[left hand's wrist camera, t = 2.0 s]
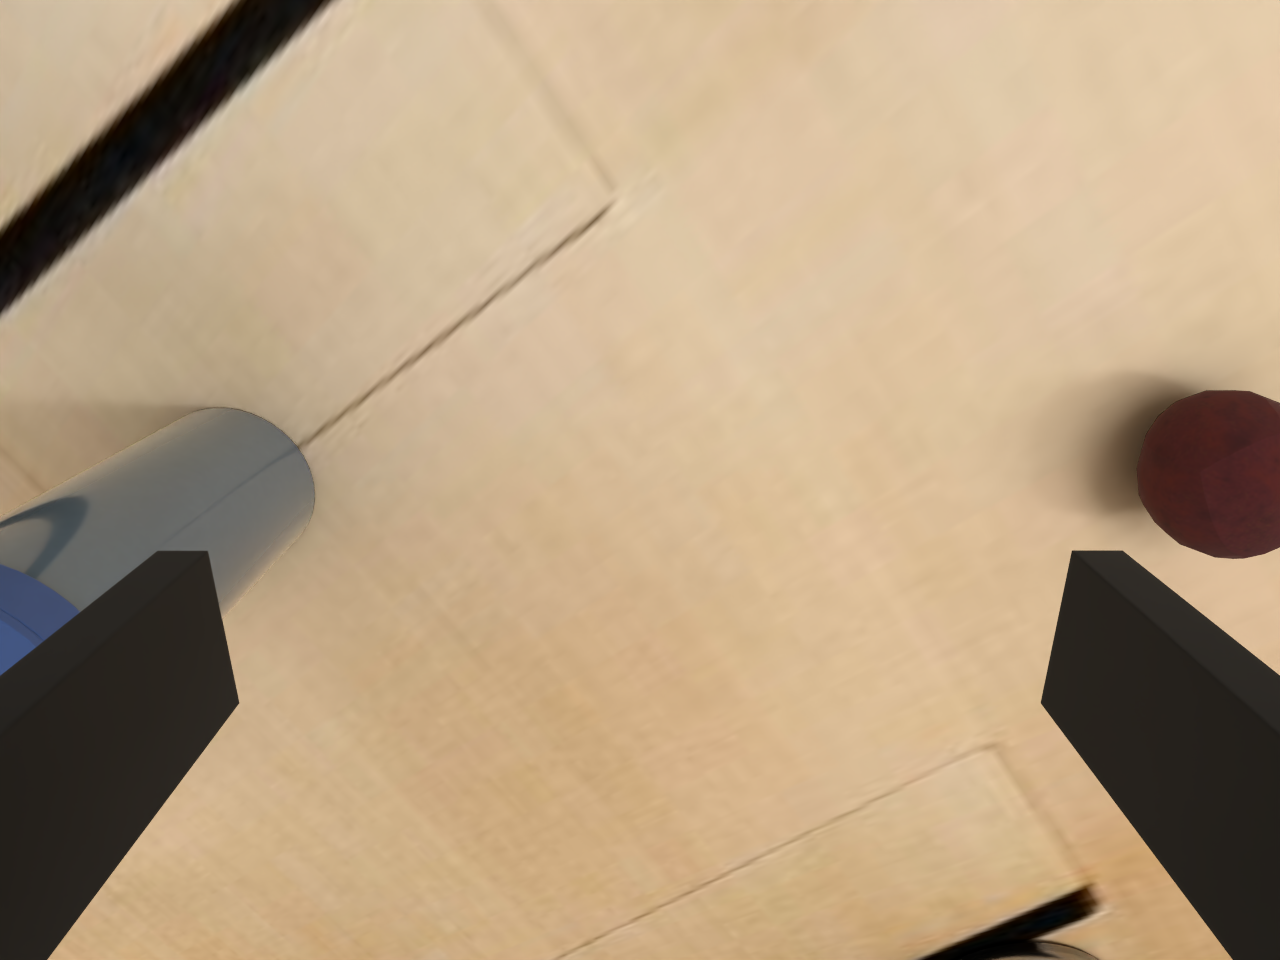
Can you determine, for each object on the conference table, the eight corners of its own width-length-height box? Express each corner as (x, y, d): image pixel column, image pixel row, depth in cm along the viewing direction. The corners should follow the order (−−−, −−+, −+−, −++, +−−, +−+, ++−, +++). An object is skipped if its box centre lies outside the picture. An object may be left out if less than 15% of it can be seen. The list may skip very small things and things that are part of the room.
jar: (182, 377, 40) (-176, 542, 22) (339, 455, 41) (118, 668, 24) (131, 512, 43) (-226, 755, 25) (281, 582, 44) (43, 857, 26)
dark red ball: (1140, 543, 43) (1230, 611, 36) (1080, 424, 41) (1166, 474, 34) (1279, 469, 41) (1400, 526, 35) (1226, 342, 39) (1344, 377, 33)
